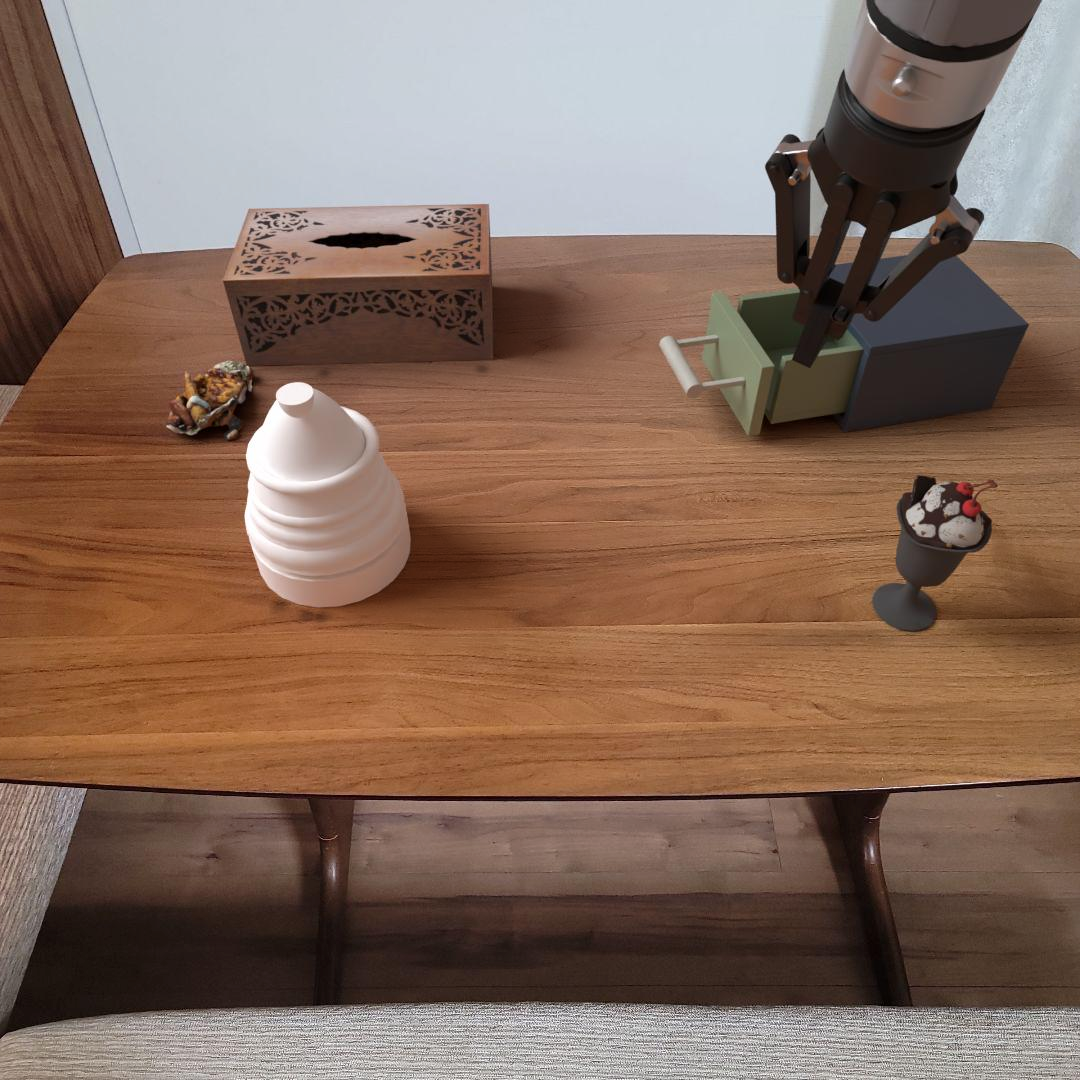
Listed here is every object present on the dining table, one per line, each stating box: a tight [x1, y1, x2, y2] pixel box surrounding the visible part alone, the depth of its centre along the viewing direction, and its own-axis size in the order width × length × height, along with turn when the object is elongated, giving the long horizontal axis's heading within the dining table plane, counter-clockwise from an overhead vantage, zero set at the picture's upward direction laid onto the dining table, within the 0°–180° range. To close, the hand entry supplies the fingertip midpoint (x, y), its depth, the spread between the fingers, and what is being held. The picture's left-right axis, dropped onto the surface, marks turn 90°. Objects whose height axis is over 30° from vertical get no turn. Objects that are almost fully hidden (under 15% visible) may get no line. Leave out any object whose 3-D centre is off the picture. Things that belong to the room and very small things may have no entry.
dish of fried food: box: [165, 360, 254, 441], centre depth 91 cm, size 7×12×4 cm, turn 2°
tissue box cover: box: [222, 203, 494, 367], centre depth 98 cm, size 26×14×10 cm, turn 92°
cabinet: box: [828, 254, 1030, 433], centre depth 92 cm, size 16×14×10 cm
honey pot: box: [244, 381, 412, 608], centre depth 72 cm, size 13×13×18 cm
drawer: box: [659, 287, 864, 437], centre depth 89 cm, size 20×13×8 cm, turn 103°
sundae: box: [872, 474, 998, 632], centre depth 69 cm, size 7×7×15 cm
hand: (808, 350), depth 69 cm, fingers closed
